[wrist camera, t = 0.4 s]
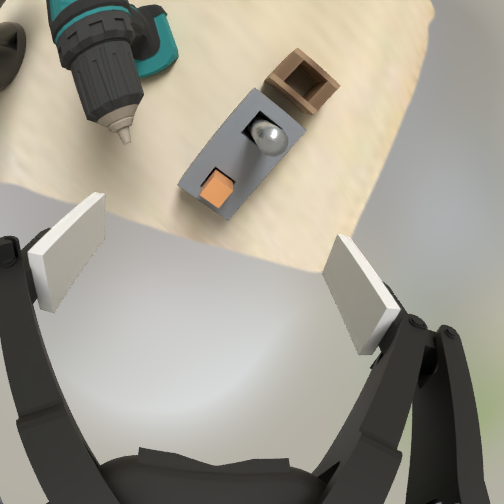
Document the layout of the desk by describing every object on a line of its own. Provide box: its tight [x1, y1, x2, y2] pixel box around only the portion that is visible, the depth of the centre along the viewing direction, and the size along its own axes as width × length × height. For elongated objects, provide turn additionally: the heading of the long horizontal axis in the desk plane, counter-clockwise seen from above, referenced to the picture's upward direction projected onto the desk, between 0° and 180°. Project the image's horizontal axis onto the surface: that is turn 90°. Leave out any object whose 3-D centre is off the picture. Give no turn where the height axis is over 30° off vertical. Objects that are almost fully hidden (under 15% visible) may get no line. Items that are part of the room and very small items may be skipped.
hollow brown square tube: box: [265, 48, 340, 115], centre depth 37 cm, size 8×6×6 cm
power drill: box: [46, 0, 178, 144], centre depth 24 cm, size 26×9×25 cm, turn 17°
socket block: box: [177, 88, 306, 220], centre depth 41 cm, size 9×17×7 cm, turn 141°
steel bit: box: [248, 117, 288, 157], centre depth 35 cm, size 3×3×18 cm
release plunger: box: [200, 169, 233, 208], centre depth 40 cm, size 3×3×8 cm
